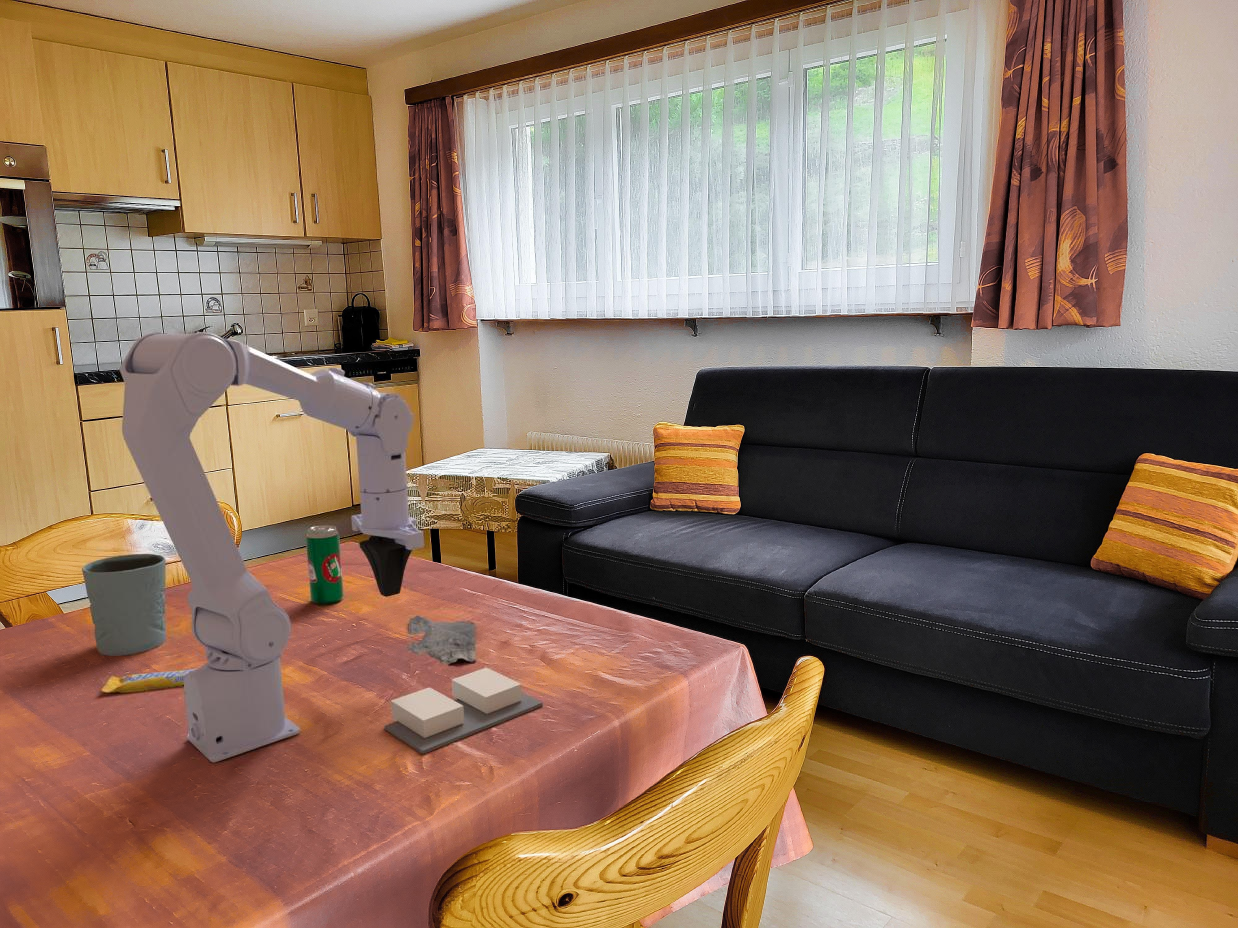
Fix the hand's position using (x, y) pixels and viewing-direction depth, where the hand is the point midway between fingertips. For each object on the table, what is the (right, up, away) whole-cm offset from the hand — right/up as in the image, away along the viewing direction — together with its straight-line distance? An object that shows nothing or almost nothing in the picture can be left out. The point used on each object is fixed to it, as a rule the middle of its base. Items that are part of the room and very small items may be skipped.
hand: (390, 594), depth 112 cm
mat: (+12, -12, -11) cm, 20 cm away
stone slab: (+4, -9, +12) cm, 16 cm away
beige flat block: (+5, -11, -11) cm, 16 cm away
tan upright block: (+11, -10, -5) cm, 16 cm away
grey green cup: (-40, -9, +13) cm, 43 cm away
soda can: (-18, -6, +31) cm, 36 cm away
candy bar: (-27, -12, 0) cm, 29 cm away
